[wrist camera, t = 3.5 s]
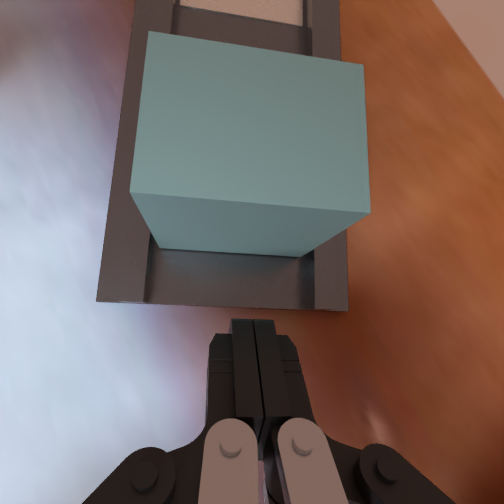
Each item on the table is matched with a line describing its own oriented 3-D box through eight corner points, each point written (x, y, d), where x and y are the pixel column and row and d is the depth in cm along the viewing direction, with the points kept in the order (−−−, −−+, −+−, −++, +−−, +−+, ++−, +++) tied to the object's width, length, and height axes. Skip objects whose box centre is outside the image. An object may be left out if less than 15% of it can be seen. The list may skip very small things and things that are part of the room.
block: (159, 247, 18) (129, 192, 10) (169, 148, 19) (148, 30, 11) (300, 257, 19) (370, 212, 11) (300, 162, 20) (363, 64, 13)
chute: (99, 302, 18) (86, 299, 16) (150, -89, 24) (145, -128, 22) (344, 311, 20) (360, 310, 18) (333, -51, 26) (345, -82, 24)
